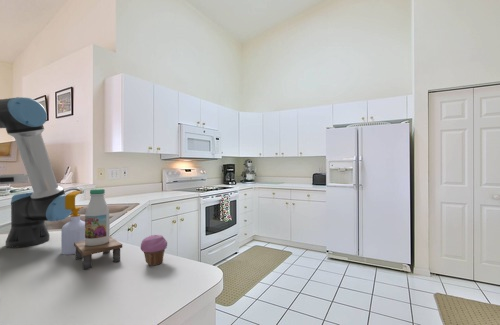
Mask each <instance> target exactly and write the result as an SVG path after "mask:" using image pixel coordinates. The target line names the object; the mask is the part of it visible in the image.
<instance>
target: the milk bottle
mask: <svg viewBox="0 0 500 325" xmlns="http://www.w3.org/2000/svg"><path fill="white" fill-rule="evenodd" d="M105 192H106V191H105V189H104V188H96V189H93V188H92V189H90V191H89V193H90V194H89V195H90V199H89V202H88V204H87V207H86V210H85V213H84V222H85V245H86V246H98V245H103V244H106V243H108V242H109V240H110V237H111V236H110V234H111V233H110V231H111V230H110V227H111V226H110V225H111V224H110V223H111V222H110V209H109V208H110V207H109V205H108V204H107V202H106V199H105Z"/></svg>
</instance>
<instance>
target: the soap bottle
mask: <svg viewBox="0 0 500 325" xmlns="http://www.w3.org/2000/svg"><path fill="white" fill-rule="evenodd" d="M81 193H83V191H82V190H72V191H71V192H69V193H67V194H65V195H66V196H65V209H71V211H72V212H71V213H72V214H70V215H69V218H70V221H68V222H66V223H65V224H64V225H62V228H61V238H60V239H61V247H60V248H61V250H60V251H61V254H62V255H65V256H69V255H76V248H75V246H74V243H75V242H80V241H85V220H81V214H79V211H80V210H81V209H84V206H76V196H78V195H80V194H81Z"/></svg>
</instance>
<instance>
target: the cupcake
mask: <svg viewBox="0 0 500 325" xmlns="http://www.w3.org/2000/svg"><path fill="white" fill-rule="evenodd" d="M167 247H168V240H166V238H165V237H164V236H163V235H162V234H152V235H149V236H146V237H145V238H143V239H142V241H141V243H140V250H141V252H142V253H143V255H144V260H145V263H146V264H147V265H148V266H151V267H152V266H156V265H160V264H162V263H163V262H164V255H165V250H166V249H167Z"/></svg>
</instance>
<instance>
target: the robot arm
mask: <svg viewBox="0 0 500 325" xmlns="http://www.w3.org/2000/svg"><path fill="white" fill-rule="evenodd" d="M47 114H48V113H47V111H46V109H45V107H44V106H43V104H41V103H40V102H38V101H37V100H35V99H34V98H33V99H32V98H30V97H19V96H17V97H8V98H3V99H0V129H5V130H6V133H7V135H9V136H11V137H13V139H15V140H14V141H15V143H16V146H17V149H18V151H19V155H20V157H21V160H22V163H23V166H24V168H25V171H26V172H25V173H26V174H24V173H15V174H14V173H13V174H0V185H8V184H9V185H11V184H28V182H29V183H30V186H31V189H32V192H25V193H17V194H14V195H12V196H11V201H10V205H11V206H10V209H11V210H10V214H11V215H10V218H11V219H10V225H11V226H10V230H9V233H8V235H7V237H6V240H5V247H6V248H22V247H24V248H25V247H29V246H35V245H36V246H37V245H38V244H43V243H46V242H48V241H50V233H49V230H48V228H47V225H46V221H47V222H59V221H63V220H65V219H67V218H69V217H70V215H72V213H73V212H72V211H71V209H65V196H66V195H67V194H66V192H65V189H64V187H62V186H59V184H58V182H57V179H56V176H55V172H54V169H53V166H52V163H51V159H50V158H49V154H48V151H47V148H46V145H45V144H46V143H45V142H44V138H43V135H42V134H43V132H44V130H45V127H44V124H45V123H46V121H47V118H48V115H47ZM28 179H29V180H28Z"/></svg>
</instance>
